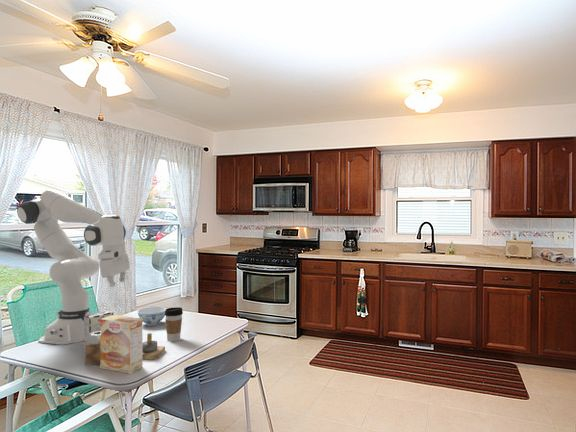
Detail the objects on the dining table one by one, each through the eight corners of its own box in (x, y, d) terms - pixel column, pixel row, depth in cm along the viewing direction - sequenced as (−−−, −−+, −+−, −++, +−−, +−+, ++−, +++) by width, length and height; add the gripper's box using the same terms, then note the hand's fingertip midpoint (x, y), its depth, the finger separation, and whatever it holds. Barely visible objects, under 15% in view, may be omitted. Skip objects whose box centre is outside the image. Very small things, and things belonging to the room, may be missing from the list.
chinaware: (155, 318, 220) (155, 305, 220) (172, 323, 211) (172, 309, 211) (132, 324, 207) (132, 310, 207) (148, 329, 199) (148, 315, 199)
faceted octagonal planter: (86, 344, 153) (86, 335, 153) (94, 339, 159) (94, 330, 159) (101, 344, 153) (101, 335, 153) (109, 339, 159) (109, 330, 159)
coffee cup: (177, 343, 179) (177, 311, 179) (161, 341, 180) (161, 310, 180) (185, 337, 187) (185, 306, 187) (170, 336, 189) (170, 305, 189)
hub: (132, 358, 159) (132, 337, 159) (142, 350, 169) (142, 330, 169) (156, 359, 159) (156, 337, 159) (164, 350, 169) (165, 330, 169)
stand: (85, 364, 153) (85, 338, 153) (94, 358, 160) (94, 333, 160) (102, 364, 153) (102, 338, 153) (110, 358, 160) (110, 333, 160)
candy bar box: (107, 346, 174) (107, 310, 174) (114, 348, 172) (114, 311, 172) (83, 353, 165) (83, 315, 165) (90, 355, 162) (90, 317, 162)
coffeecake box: (99, 368, 149) (99, 318, 149) (113, 362, 156) (113, 314, 156) (129, 374, 144) (129, 322, 144) (143, 367, 150) (143, 318, 150)
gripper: (117, 249, 175) (120, 279, 176) (95, 256, 155) (99, 289, 155) (131, 248, 175) (134, 278, 176) (111, 254, 155) (114, 288, 155)
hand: (117, 283), depth 165 cm, fingers open, 8 cm apart
